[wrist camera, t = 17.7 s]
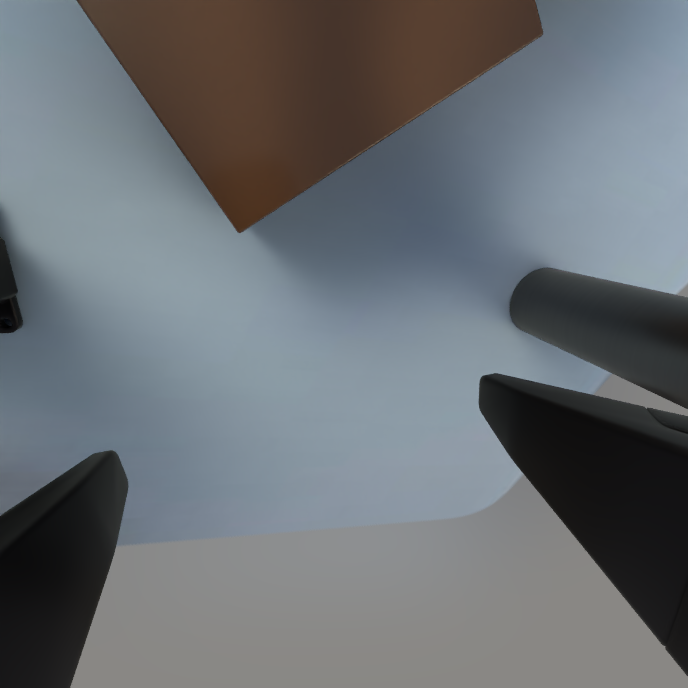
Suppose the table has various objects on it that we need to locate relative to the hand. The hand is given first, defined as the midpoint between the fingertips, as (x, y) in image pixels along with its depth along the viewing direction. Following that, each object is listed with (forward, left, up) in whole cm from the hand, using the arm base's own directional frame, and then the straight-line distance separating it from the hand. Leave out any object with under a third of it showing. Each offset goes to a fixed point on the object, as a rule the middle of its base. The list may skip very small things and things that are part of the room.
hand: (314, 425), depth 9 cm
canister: (+17, 0, -13) cm, 21 cm away
